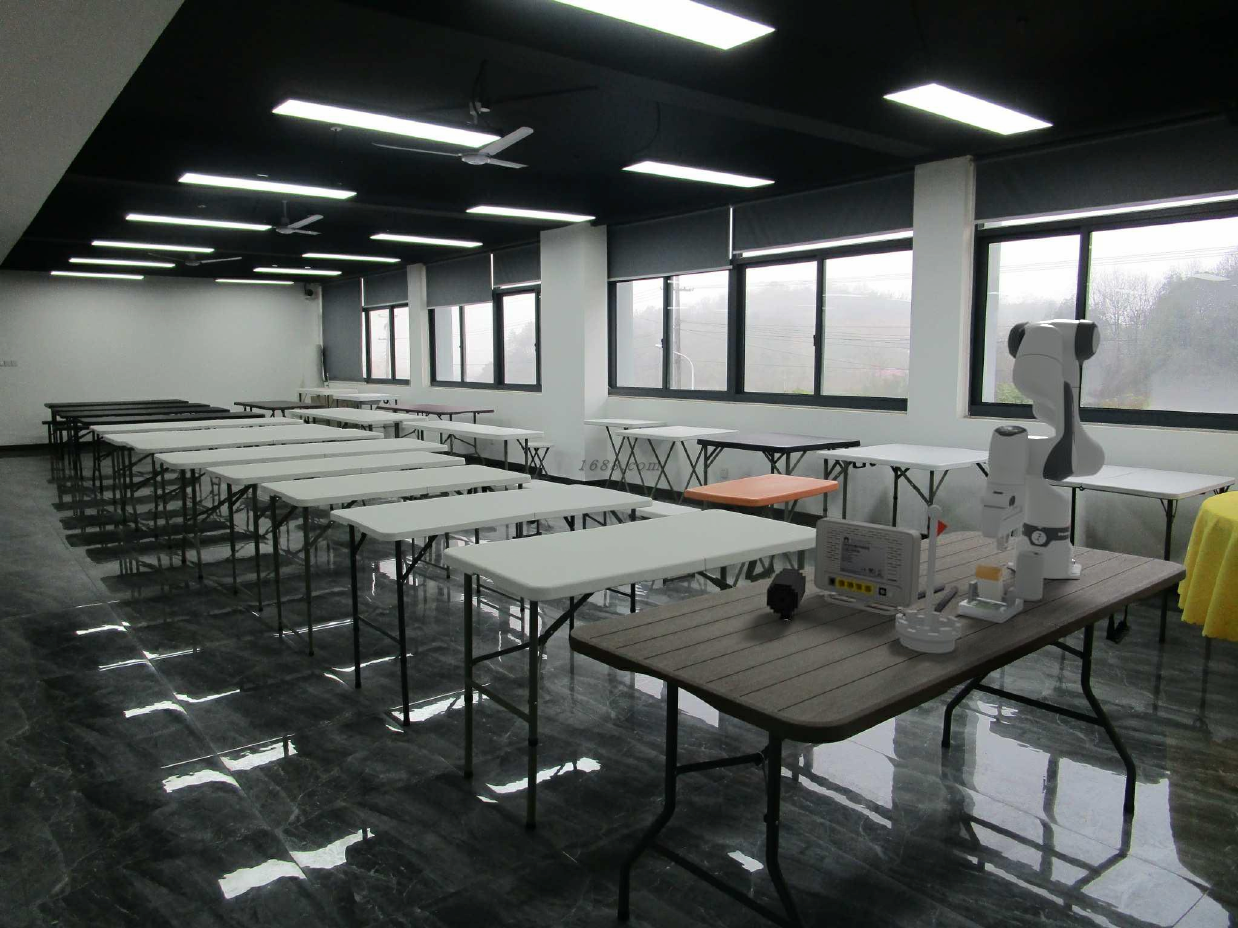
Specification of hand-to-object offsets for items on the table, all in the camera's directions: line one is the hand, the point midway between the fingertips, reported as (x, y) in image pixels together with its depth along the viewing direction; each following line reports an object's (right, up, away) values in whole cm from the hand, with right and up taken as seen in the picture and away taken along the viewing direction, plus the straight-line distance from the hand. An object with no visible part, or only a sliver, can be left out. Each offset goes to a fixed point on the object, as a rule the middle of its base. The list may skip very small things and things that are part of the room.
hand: (1002, 549), depth 199 cm
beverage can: (+11, -14, +9) cm, 19 cm away
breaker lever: (-4, -11, -3) cm, 12 cm away
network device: (-33, -14, +3) cm, 36 cm away
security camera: (-54, -15, -7) cm, 57 cm away
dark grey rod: (-11, -14, +6) cm, 19 cm away
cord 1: (-14, -13, +11) cm, 22 cm away
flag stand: (-28, -18, -25) cm, 41 cm away
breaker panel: (-4, -15, -2) cm, 15 cm away
